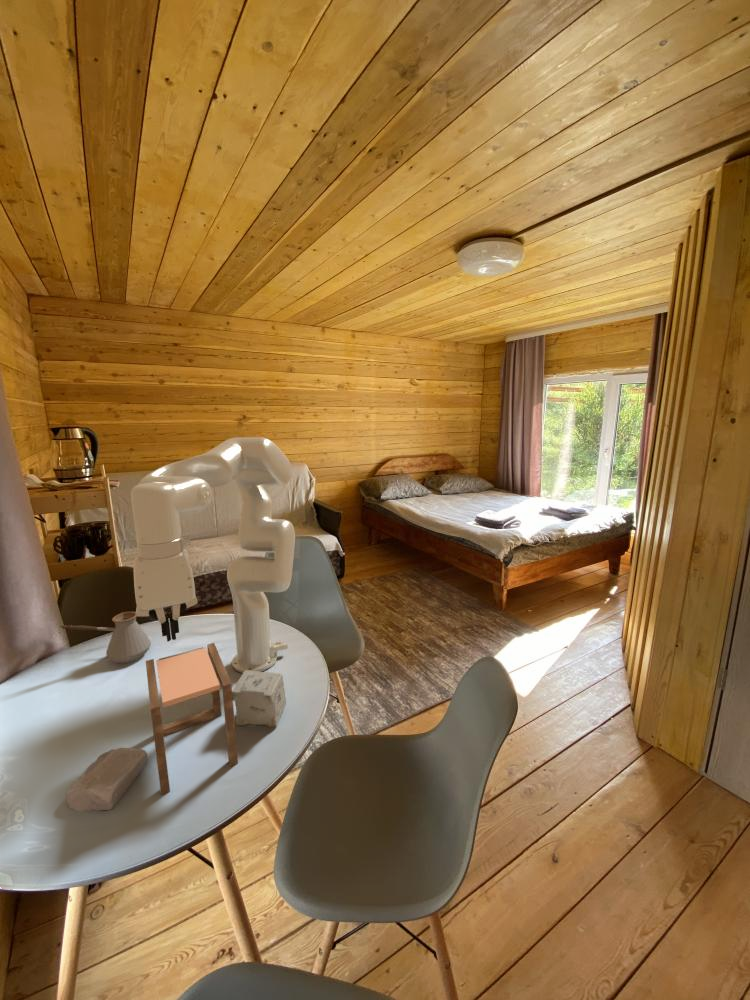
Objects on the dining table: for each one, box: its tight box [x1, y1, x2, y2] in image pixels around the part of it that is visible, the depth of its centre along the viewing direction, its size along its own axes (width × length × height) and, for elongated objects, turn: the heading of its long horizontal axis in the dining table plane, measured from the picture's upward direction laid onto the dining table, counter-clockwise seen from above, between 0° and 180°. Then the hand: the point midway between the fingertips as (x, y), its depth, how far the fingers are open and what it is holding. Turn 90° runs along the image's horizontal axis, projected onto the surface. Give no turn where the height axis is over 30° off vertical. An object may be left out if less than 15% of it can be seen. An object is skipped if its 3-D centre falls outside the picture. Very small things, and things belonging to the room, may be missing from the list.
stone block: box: [65, 747, 148, 812], centre depth 80 cm, size 12×5×10 cm
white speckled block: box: [232, 670, 287, 728], centre depth 96 cm, size 10×8×10 cm
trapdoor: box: [156, 646, 221, 708], centre depth 86 cm, size 10×18×3 cm, turn 31°
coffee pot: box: [58, 611, 152, 664], centre depth 119 cm, size 21×12×15 cm, turn 130°
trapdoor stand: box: [145, 642, 239, 796], centre depth 86 cm, size 14×18×18 cm
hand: (171, 637), depth 81 cm, fingers closed
